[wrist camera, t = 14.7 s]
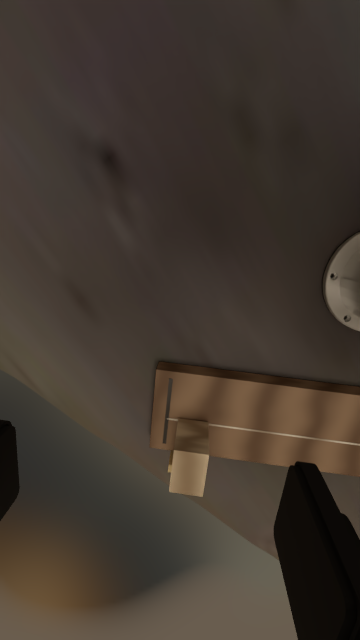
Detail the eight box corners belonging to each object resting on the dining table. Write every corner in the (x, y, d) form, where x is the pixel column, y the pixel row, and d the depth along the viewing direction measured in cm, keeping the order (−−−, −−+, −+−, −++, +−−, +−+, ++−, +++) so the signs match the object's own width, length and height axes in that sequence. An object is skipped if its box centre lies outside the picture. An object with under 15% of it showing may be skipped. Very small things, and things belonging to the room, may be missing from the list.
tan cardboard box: (211, 413, 40) (213, 455, 33) (205, 454, 42) (205, 503, 35) (176, 408, 41) (169, 449, 33) (171, 449, 43) (164, 497, 35)
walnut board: (384, 389, 38) (396, 400, 36) (359, 464, 42) (368, 478, 39) (159, 361, 40) (156, 369, 37) (152, 435, 43) (149, 447, 40)
